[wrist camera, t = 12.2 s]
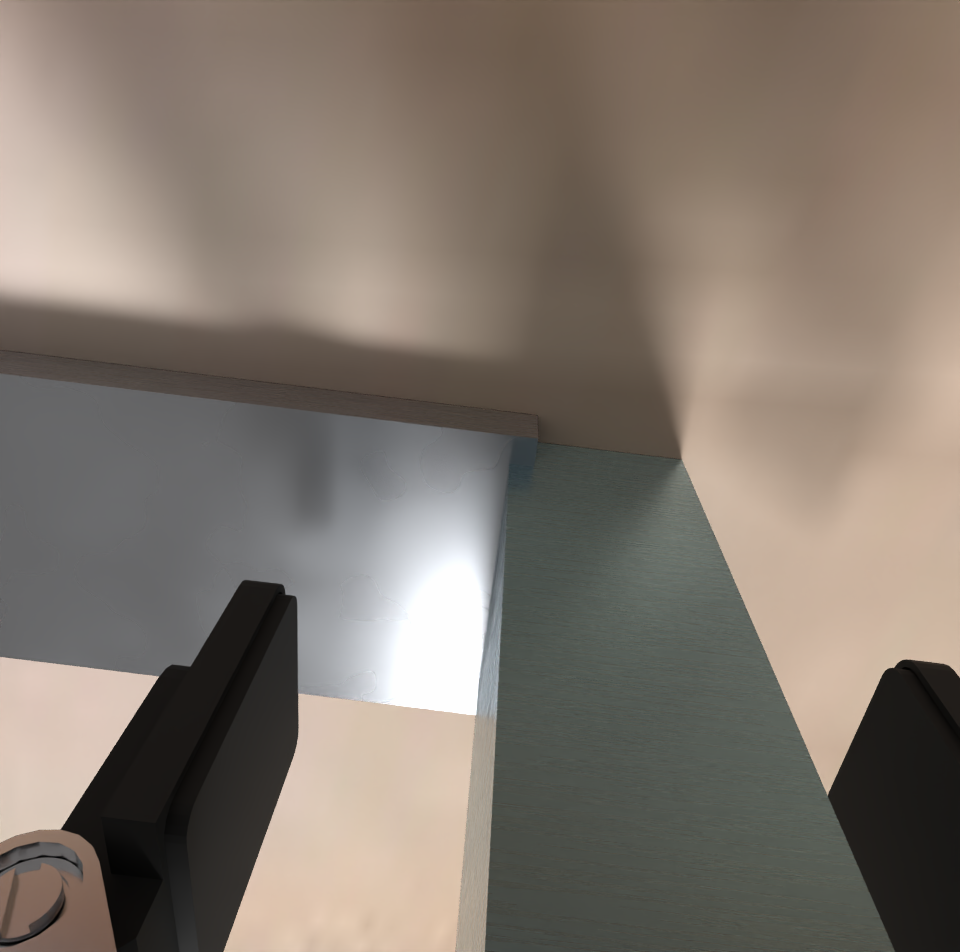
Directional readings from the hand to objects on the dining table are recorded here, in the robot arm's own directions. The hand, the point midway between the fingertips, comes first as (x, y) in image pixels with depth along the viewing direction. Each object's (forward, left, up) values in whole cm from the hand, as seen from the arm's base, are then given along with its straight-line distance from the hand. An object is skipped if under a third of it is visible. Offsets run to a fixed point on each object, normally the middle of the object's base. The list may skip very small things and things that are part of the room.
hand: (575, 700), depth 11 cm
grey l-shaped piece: (+7, 0, -3) cm, 8 cm away
